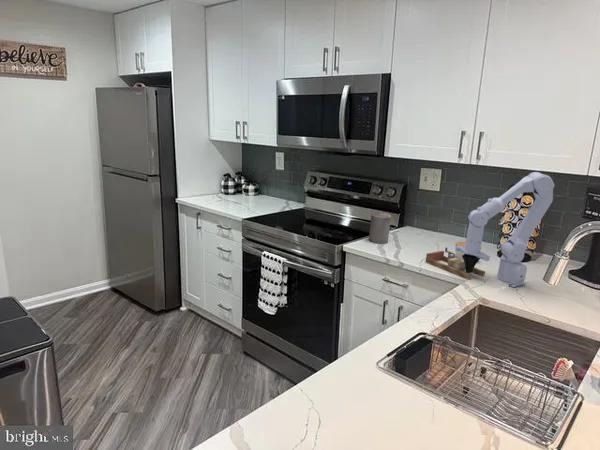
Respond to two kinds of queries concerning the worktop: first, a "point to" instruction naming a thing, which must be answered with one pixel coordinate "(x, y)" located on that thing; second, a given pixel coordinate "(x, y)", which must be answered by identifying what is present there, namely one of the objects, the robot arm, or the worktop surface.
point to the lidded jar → (458, 253)
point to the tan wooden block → (457, 264)
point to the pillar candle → (379, 228)
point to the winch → (450, 254)
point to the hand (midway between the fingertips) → (468, 272)
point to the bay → (437, 256)
